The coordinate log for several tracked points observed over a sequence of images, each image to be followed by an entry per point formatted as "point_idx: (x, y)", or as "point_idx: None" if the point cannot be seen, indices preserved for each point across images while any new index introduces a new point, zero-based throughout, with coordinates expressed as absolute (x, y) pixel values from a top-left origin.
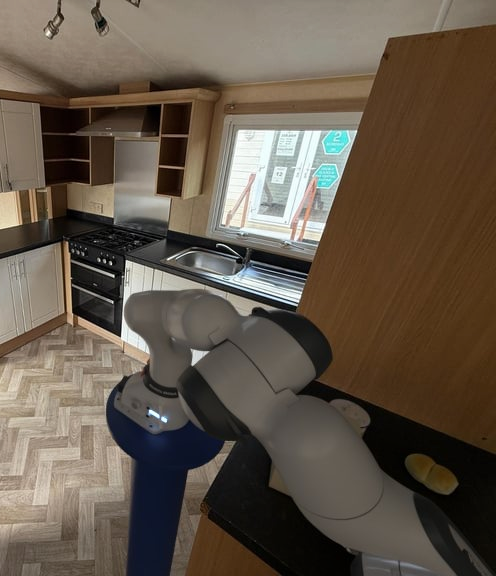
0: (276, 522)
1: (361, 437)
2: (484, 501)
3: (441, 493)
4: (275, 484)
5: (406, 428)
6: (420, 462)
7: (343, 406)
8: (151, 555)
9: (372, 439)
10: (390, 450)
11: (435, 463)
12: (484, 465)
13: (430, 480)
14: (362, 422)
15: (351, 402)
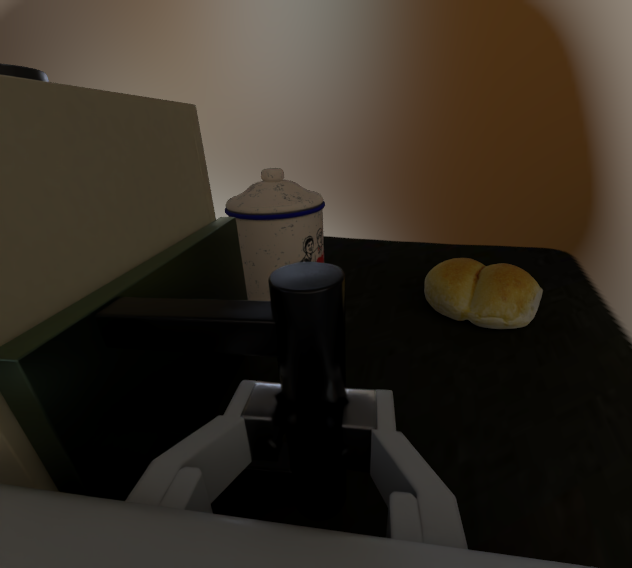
0: None
1: (131, 95)
2: (604, 315)
3: (512, 325)
4: None
5: (430, 249)
6: (452, 270)
7: (253, 184)
8: None
9: (362, 277)
10: (397, 284)
11: (484, 265)
12: (569, 262)
13: (480, 299)
14: (294, 200)
15: (271, 168)
